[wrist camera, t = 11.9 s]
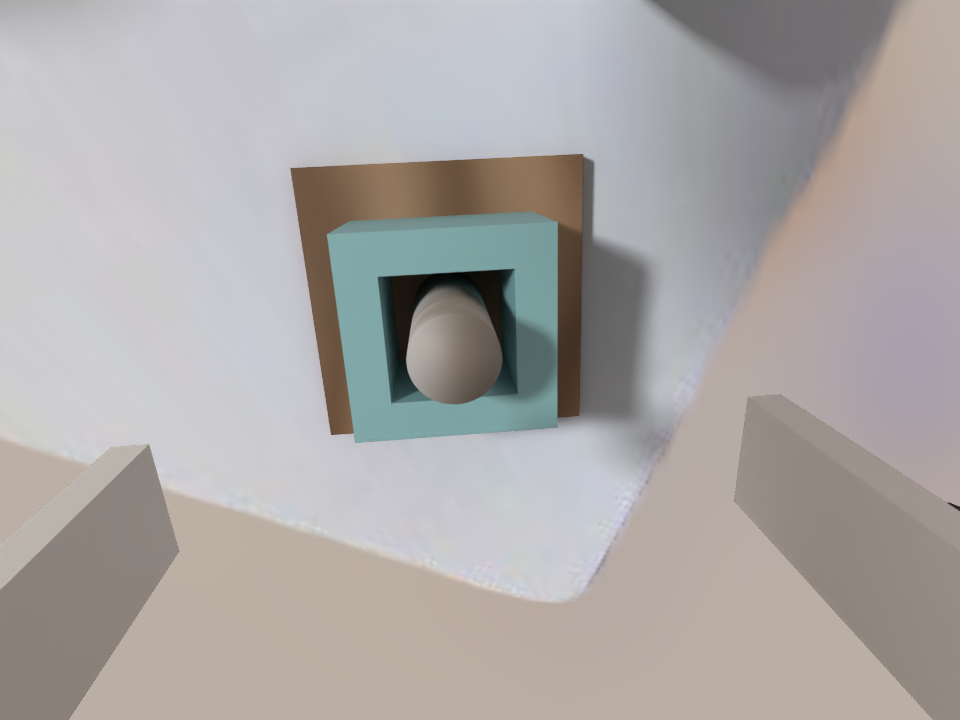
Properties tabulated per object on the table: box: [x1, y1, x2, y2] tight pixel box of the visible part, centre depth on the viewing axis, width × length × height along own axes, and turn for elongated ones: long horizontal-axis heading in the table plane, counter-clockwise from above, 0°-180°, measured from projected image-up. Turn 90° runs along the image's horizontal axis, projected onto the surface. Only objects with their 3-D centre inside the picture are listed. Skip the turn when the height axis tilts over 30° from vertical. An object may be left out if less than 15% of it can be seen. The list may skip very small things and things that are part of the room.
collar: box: [327, 211, 558, 443], centre depth 26 cm, size 9×9×6 cm
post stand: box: [291, 154, 583, 435], centre depth 24 cm, size 14×14×10 cm
